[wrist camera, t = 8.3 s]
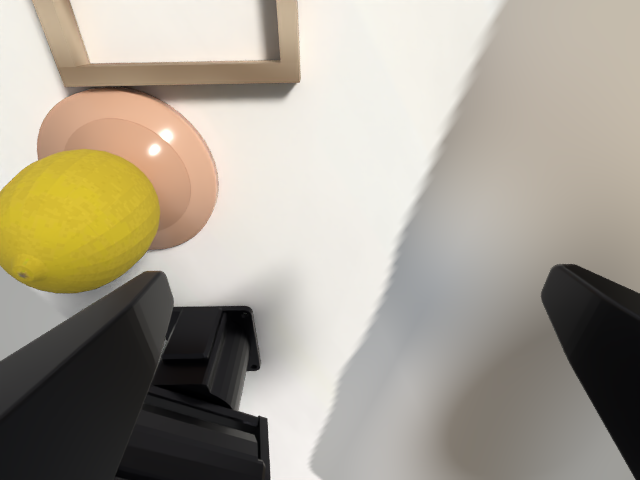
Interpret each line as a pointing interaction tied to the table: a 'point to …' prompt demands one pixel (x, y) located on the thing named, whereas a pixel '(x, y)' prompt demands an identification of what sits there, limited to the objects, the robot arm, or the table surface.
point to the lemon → (76, 220)
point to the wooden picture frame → (80, 73)
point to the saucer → (141, 151)
